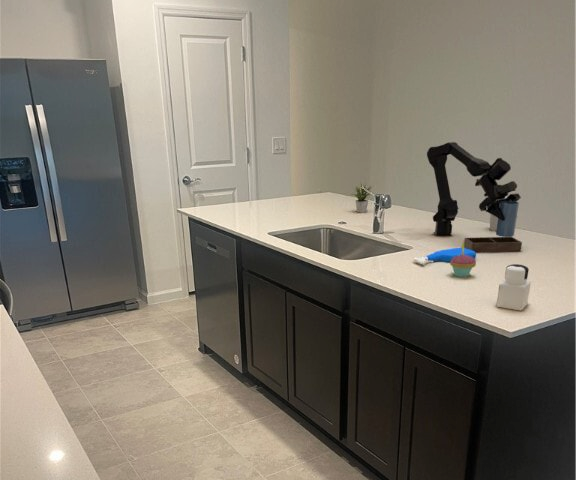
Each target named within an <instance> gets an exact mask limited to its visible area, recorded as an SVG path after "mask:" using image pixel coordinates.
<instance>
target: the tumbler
mask: <svg viewBox="0 0 576 480" xmlns="http://www.w3.org/2000/svg"><path fill="white" fill-rule="evenodd" d="M519 205H520V203H519V201H517V202H514V201H502V202H500V209H501V211H502V213H503V215H504V217H505V220H504V221H502V220H500V219H499V218H498V223H497V231H495V235H496V236H497V237H514V236H515V231H516V226H517V225H516V224H517V218H518V213H519V212H518V211H519Z"/></svg>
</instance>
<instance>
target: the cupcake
mask: <svg viewBox="0 0 576 480" xmlns="http://www.w3.org/2000/svg"><path fill="white" fill-rule="evenodd" d="M461 248H462V255H457V256H455V257H454V258H452V259H451V262H449V265H450V266H451V267H452V271H453V275H454V276H455V277H458V278H467V277H469V275H470V273H471V271H472V269H473V268H475V267H476V265H477V261H476V259H473V258H472V257H470V256H467V255H464V248H465V247H464V239H462V242H461Z"/></svg>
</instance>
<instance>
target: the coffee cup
mask: <svg viewBox="0 0 576 480" xmlns="http://www.w3.org/2000/svg"><path fill="white" fill-rule="evenodd" d="M507 197H508V195H507V196H506V197H505V198H507ZM497 223H498V218H497V217H496V216H494V215H492V214H490V213H489V230H490V231H492V232H496V231H497Z"/></svg>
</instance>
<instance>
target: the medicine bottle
mask: <svg viewBox="0 0 576 480" xmlns="http://www.w3.org/2000/svg"><path fill="white" fill-rule="evenodd" d="M529 271H530V270H529V267H527V266H526V265H524V264H517V263H515V264H509V265H507V266H506V267H505V273H504V279H503V280H502V281H501V282H500V283H499V284H498V292H497V300H496V308H503V309H510V310H515V311H523V310H524V308H525V307H526V306H527V305H528V303H529V295H530V291H531V285H532V284H531V282H532V281H531V280H528V276H529Z"/></svg>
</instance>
